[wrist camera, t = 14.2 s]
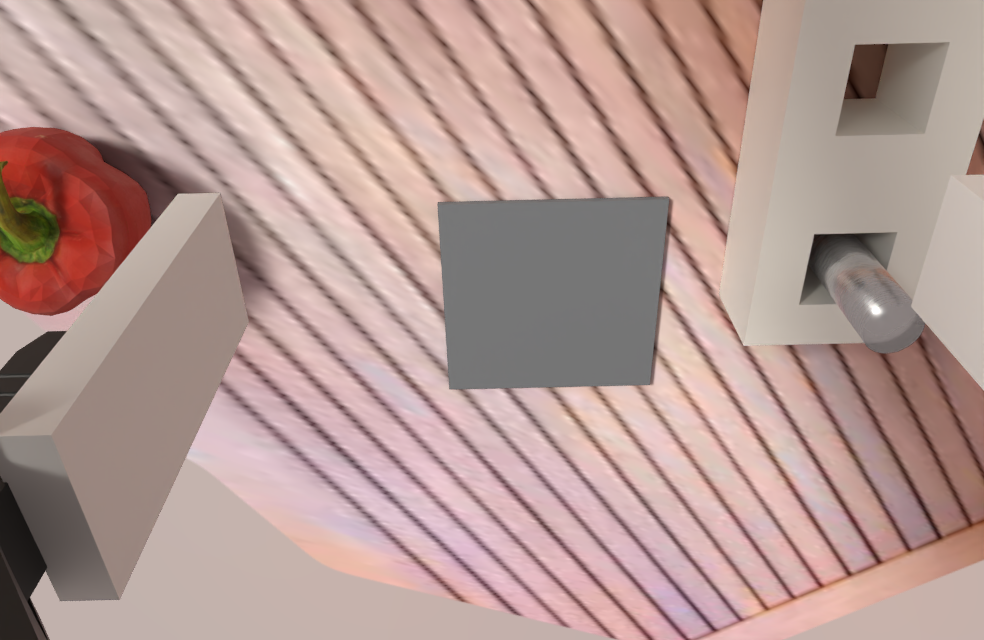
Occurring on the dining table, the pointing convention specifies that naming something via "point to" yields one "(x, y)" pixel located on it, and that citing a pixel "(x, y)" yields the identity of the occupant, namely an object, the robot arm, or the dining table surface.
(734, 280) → the block
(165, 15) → the dining table surface
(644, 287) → the mat
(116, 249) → the vegetable
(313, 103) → the dining table surface
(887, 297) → the peg
